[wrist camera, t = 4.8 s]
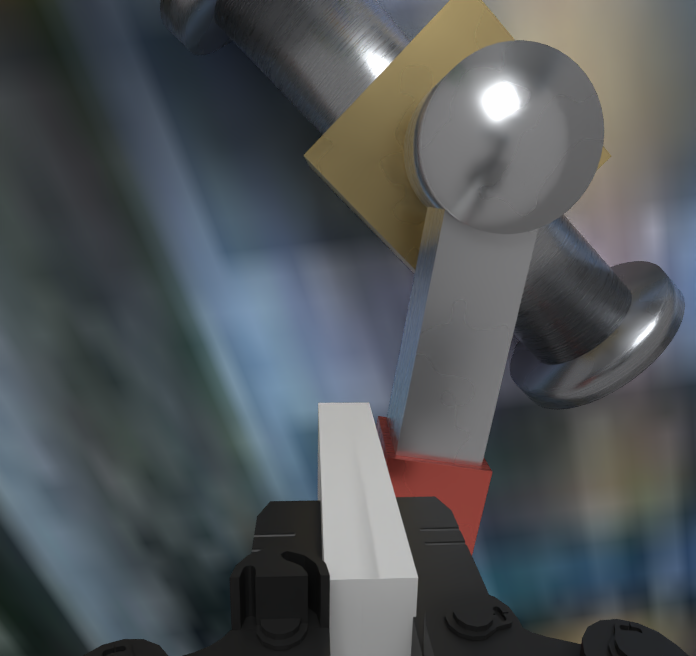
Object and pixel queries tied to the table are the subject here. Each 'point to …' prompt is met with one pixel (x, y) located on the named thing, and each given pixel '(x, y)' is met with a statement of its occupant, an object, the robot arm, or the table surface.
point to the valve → (400, 199)
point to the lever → (479, 253)
